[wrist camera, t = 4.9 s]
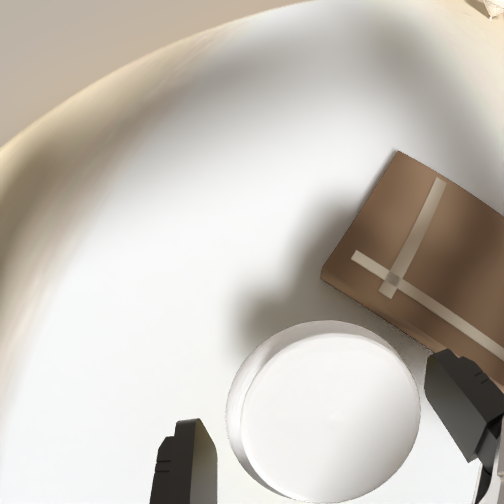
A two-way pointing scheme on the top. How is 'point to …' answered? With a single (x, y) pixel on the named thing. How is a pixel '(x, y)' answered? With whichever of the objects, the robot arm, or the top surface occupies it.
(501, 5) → the spinning top
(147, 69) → the top surface
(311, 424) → the supplement bottle
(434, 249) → the walnut board
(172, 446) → the robot arm
